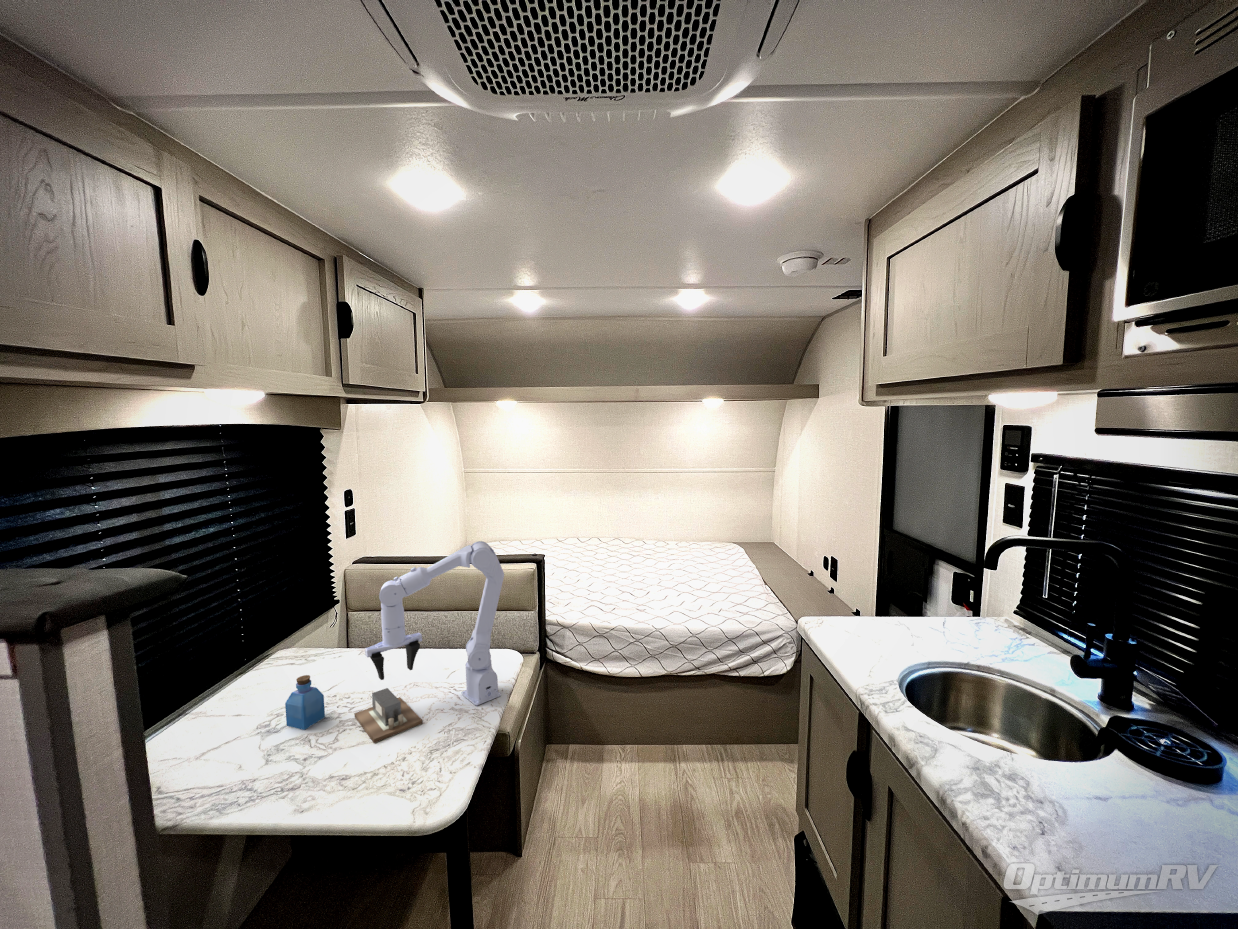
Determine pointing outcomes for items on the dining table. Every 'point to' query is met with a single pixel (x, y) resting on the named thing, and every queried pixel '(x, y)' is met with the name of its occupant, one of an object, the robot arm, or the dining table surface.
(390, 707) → the block
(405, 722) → the pin tray
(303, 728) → the perfume bottle
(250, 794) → the dining table surface
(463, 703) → the dining table surface
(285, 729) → the dining table surface
